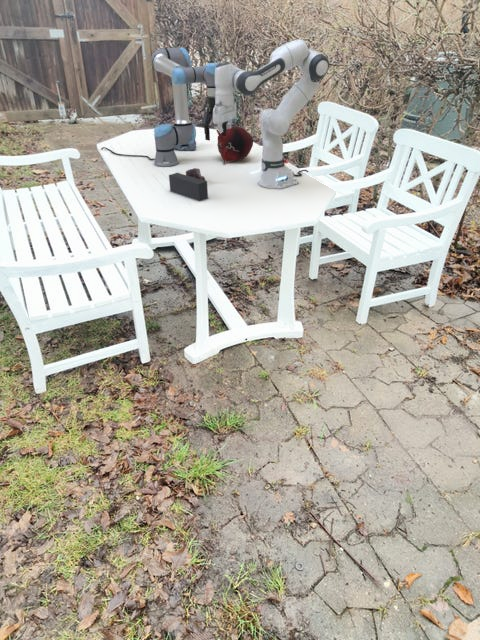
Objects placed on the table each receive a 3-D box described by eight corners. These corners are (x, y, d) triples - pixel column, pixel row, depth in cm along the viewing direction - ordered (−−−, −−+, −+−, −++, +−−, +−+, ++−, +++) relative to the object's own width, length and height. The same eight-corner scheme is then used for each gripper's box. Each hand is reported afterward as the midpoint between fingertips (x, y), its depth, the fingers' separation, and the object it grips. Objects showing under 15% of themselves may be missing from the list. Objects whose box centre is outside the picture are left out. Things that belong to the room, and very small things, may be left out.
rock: (199, 181, 267) (183, 183, 263) (197, 166, 264) (182, 168, 259) (207, 183, 258) (191, 185, 254) (206, 167, 254) (189, 169, 250)
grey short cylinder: (196, 150, 320) (194, 121, 309) (171, 151, 319) (168, 122, 308) (196, 145, 335) (194, 116, 324) (172, 145, 334) (169, 117, 322)
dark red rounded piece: (214, 132, 305) (214, 129, 282) (248, 124, 304) (250, 121, 281) (221, 164, 312) (221, 164, 288) (254, 157, 311) (257, 156, 288)
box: (170, 191, 249) (168, 175, 244) (178, 188, 253) (177, 172, 248) (199, 201, 236) (198, 184, 231) (207, 198, 240) (207, 181, 234)
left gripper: (203, 99, 231) (205, 143, 243) (234, 94, 247) (235, 134, 259) (193, 98, 235) (195, 141, 247) (224, 93, 251) (225, 133, 263)
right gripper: (220, 104, 211) (221, 135, 219) (238, 97, 226) (238, 127, 234) (208, 103, 213) (210, 134, 221) (227, 97, 228) (227, 126, 236)
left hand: (216, 138), depth 253 cm, fingers open, 13 cm apart
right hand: (225, 130), depth 227 cm, fingers open, 8 cm apart
